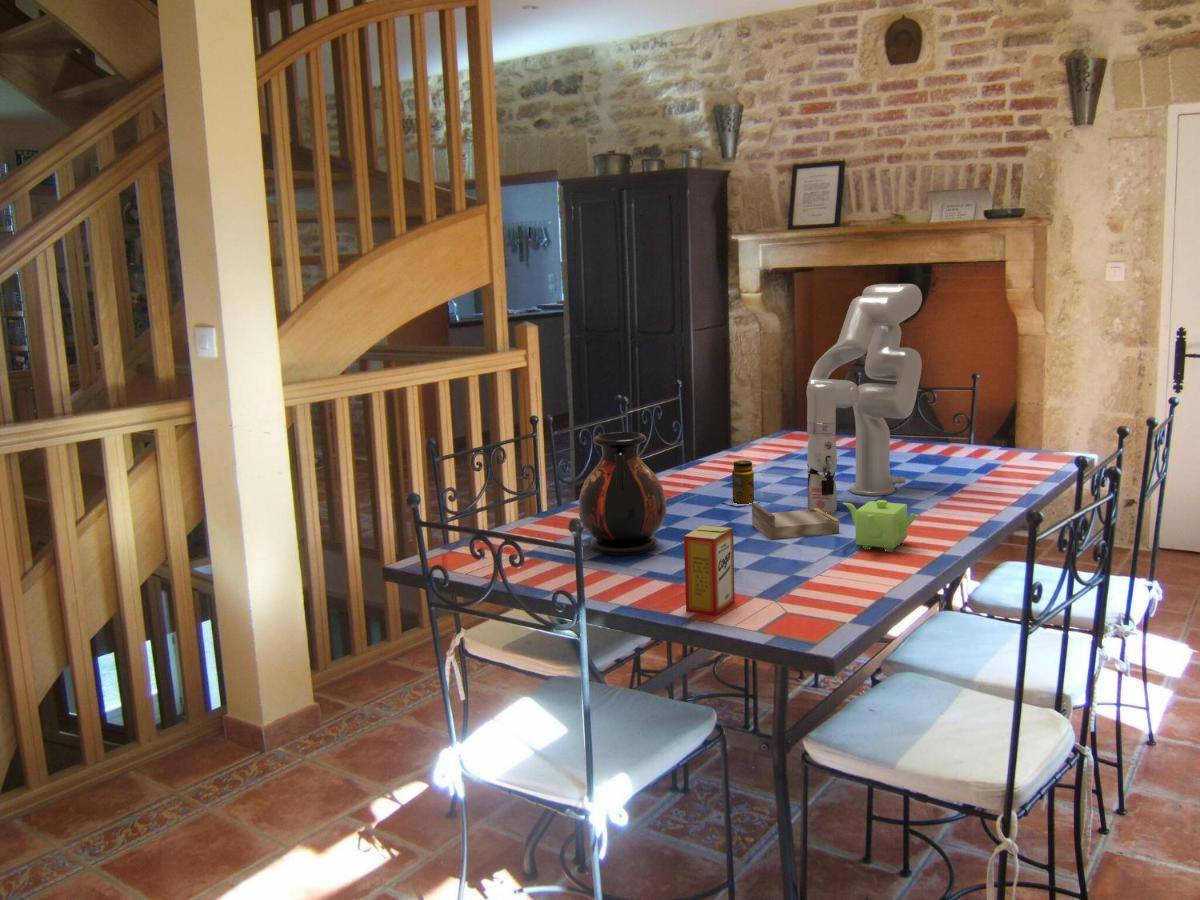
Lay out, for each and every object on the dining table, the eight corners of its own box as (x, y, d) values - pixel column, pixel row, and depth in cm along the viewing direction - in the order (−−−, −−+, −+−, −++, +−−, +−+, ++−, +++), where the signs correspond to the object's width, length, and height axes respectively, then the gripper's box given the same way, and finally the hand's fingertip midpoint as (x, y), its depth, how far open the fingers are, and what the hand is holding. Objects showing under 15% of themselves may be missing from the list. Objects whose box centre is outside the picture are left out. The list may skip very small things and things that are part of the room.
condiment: (760, 503, 296) (759, 461, 294) (737, 508, 291) (737, 466, 289) (743, 498, 302) (742, 458, 300) (721, 503, 297) (720, 462, 295)
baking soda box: (715, 615, 206) (714, 537, 203) (686, 611, 209) (683, 534, 206) (734, 601, 214) (733, 525, 211) (705, 597, 217) (703, 522, 214)
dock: (817, 519, 274) (817, 497, 273) (838, 533, 261) (838, 509, 260) (752, 525, 271) (751, 503, 270) (770, 539, 258) (770, 516, 257)
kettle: (867, 558, 239) (867, 510, 237) (838, 543, 253) (838, 497, 251) (925, 550, 243) (926, 503, 241) (893, 536, 256) (893, 491, 254)
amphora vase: (582, 537, 268) (577, 430, 262) (666, 534, 267) (662, 427, 262) (578, 561, 246) (572, 445, 241) (669, 558, 246) (665, 442, 240)
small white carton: (812, 508, 287) (812, 472, 285) (836, 510, 284) (836, 474, 282) (808, 511, 284) (807, 475, 282) (831, 513, 281) (831, 477, 279)
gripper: (847, 432, 272) (846, 496, 275) (822, 423, 289) (821, 484, 291) (820, 433, 271) (819, 498, 273) (796, 425, 287) (795, 486, 290)
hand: (820, 491), depth 282 cm, fingers open, 9 cm apart
